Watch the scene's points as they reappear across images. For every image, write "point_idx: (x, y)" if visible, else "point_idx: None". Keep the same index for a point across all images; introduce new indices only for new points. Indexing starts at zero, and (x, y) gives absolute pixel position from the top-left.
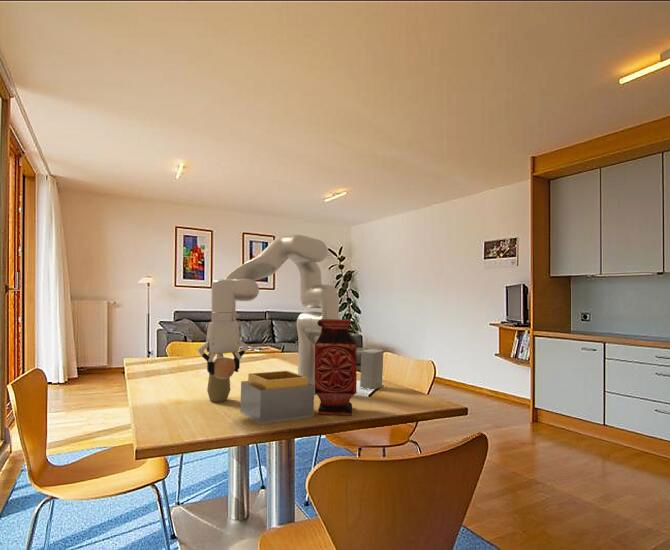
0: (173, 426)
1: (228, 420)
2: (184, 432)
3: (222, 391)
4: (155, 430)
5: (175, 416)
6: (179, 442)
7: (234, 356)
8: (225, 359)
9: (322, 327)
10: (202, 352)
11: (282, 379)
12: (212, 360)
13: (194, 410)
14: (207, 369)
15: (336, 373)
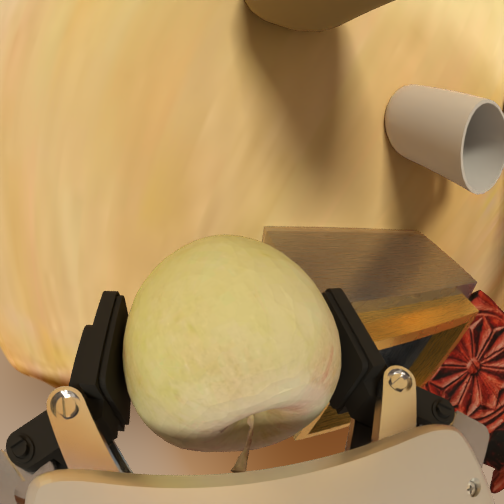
0: (34, 288)
1: None
2: (64, 339)
3: (295, 28)
4: (4, 299)
5: (32, 182)
6: (64, 376)
7: (378, 394)
8: (233, 450)
9: (500, 471)
10: (24, 486)
11: (345, 426)
12: (116, 432)
13: (109, 113)
14: (84, 337)
15: None
